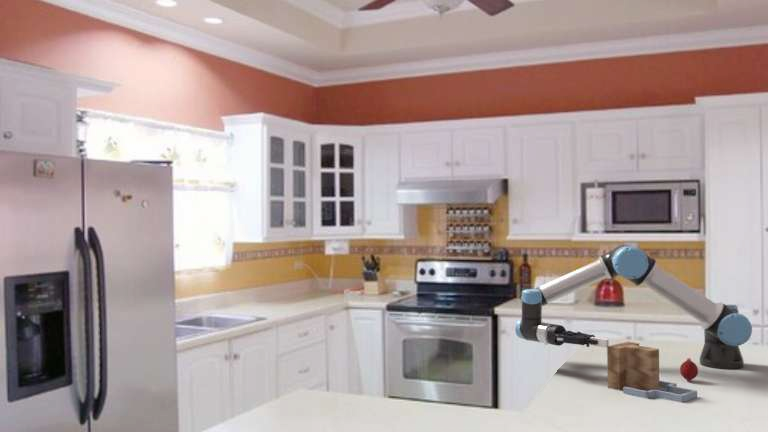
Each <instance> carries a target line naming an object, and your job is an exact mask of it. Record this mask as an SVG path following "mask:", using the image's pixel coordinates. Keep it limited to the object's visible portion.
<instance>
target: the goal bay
mask: <svg viewBox="0 0 768 432" xmlns="http://www.w3.org/2000/svg"><path fill="white" fill-rule="evenodd" d="M659 388H664V389H665V391H664V390H660V389H659V390H655V389H653V390H650V391H643V390H639V389H634V388H629V387H623V389H622V391H623V392H622V394H624V395H625V394H626V395H629V396H635V397H638V396H639V398H643V397H644V398H643V399H647V398H648V399H647V400H649V399H651V398H659V399H664V398H665V399H664V400H668V399H669V401H673V400H674V402H678V401H679V402H678V403H684V402H687V401H690V400H692V399H696V398H698V390H696V389H695V390H694V389H691V388H685V387H680V386H678V385H677V383H676V382H670V381H665V380H661V379H659ZM676 393H677V394H676Z"/></svg>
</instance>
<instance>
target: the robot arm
mask: <svg viewBox="0 0 768 432" xmlns="http://www.w3.org/2000/svg"><path fill="white" fill-rule="evenodd" d="M618 276H620V277H622V278H624V279H626V280H627V281H629V282H631V283H632V284H634V285H635V286H637V287H642V286H644V287H646V288H647V289H649V290H650V291H652V293H653V292H654V293H655V294H657V296H660V297H661V298H663V299H664V300H666V301H668V302H669V303H670V304H672V305H674V306H675V307H677V308H679V309H680V310H681V311H683V312H684V313H686V314H687V315H689V316H691V317H692V318H694V319H695V320H696V321H698V322H700V323H701V326H702V327H701V328H702V329H703V331H704V332H703V333H704V344H703V347H702V350H701V352H700V356H699V365H702V366H704V367H708V368H713V369H714V368H716V369H722V370H723V369H724V370H726V369H728V370H729V369H741V368H743V367H744V366H745V365H744V364H745V363H744V362H745V361H744V357H743V355H742V352H741V350H740V346H742V345H744V344H746V343H747V342H748V341H749V339H750V338H751V337H752V334H753V327H752V323H751V322H750V320H749V319H748V318H747V317H746V316H745V315H744V314H742V313H739V309H738V308H739V307H738V305H736V304H725V303H723V302H714V301H712V300H711V299H709V298H707V297H706V296H705V295H703V294H701V293H700V292H699V291H697V290H695V289H693V288H692V287H690V286H689V285H687V284H686V283H684V282H683V281H681V280H679V279H678V278H677V277H675V276H674V275H672V274H671V273H669V272H667V271H666V270H664V269H662V268H661V267H659V266H658V263H657V260H656V259H655V258H653V257H652V256H650V255H648V254H647V253H645V252H644V251H643V250H642V249H640V248H639V247H637V246H634V245H633V246H632V245H631V244H621V245H618V246H616V247H614V248H613V249H611V250H609V251H607V252H606V253H604V254H602V255H600V256H599V257H598V258H597V260H595V261H592V262H591V263H589V264H586V265H584V266H581V267H580V268H577V269H575V270H573V271H571V272H568V273H566V274H564V275H561V276H560V277H557V278H555V279H552V280H551V281H548V282H546V283H544V284H542V285H539V286H537V287H535V288H533V289H532V288H530V289H529V288H527V289H523V290H522V291H521V319H519V320H517V322H516V325H515V327H514V331H515V334H516V336H517V337H518V338H519V339H522V340H525V341H527V342H528V341H531V342H537V343H542V344H543V343H544V345H546V346H547V345H552V346H558V347H560V346H562V345H563V344H571V345H580V346H585V345H586V348H589V347H590V346H594V347H599V348H605V349H607V346H610V345H609V343H610V342H609V341H610V340H609V339H608V338H601V337H596V336H595V335H594V334H589V333H583V332H580V331H575V332H574V331H572V330H566V328H565V326H563V325H560V324H554V323H549V322H542V318H543V317H542V315H543V314H542V309H543V306H546V305H548V304H549V303H551V302H554V301H556V300H559V299H561V298H564V297H566V296H568V295H571V294H572V293H575V292H577V291H579V290H582V289H584V288H586V287H589V286H591V285H593V284H596V283H598V282H600V281H603V280H605V279H606V278H607V279H610V280H611V279H613V278H615V277H618Z"/></svg>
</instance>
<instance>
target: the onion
mask: <svg viewBox="0 0 768 432" xmlns="http://www.w3.org/2000/svg"><path fill="white" fill-rule="evenodd" d="M679 372H680V374H681V376H682V378H684V379H685V380H686V381H688V382H690V381H692V380H693V379H695V378H696V377H697V376H698V373H699V368H698V365H697V364H696V363H695V362H694V361H692V360H691V358H690V357H687V359H686V360H685V361H684V362H683V363H681V365H680V368H679Z"/></svg>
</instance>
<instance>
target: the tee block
mask: <svg viewBox="0 0 768 432" xmlns="http://www.w3.org/2000/svg"><path fill="white" fill-rule="evenodd" d="M606 349H607V350H606V351H607V353H606V356H607V357H606V358H607V361H606V362H607V364H606V365H607V366H606V367H607V388H608V389H611V390H612V389H613V390H618V391H621V390H622V391H623V387H629V388H634V389H639V390H643V391H650V390H653V389H655V390H660V387H659V380H660V348H655V347H648V346H640V343H638V342H631V341H625V342H621V343H616V344H611V345H609V346H607V348H606Z"/></svg>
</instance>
